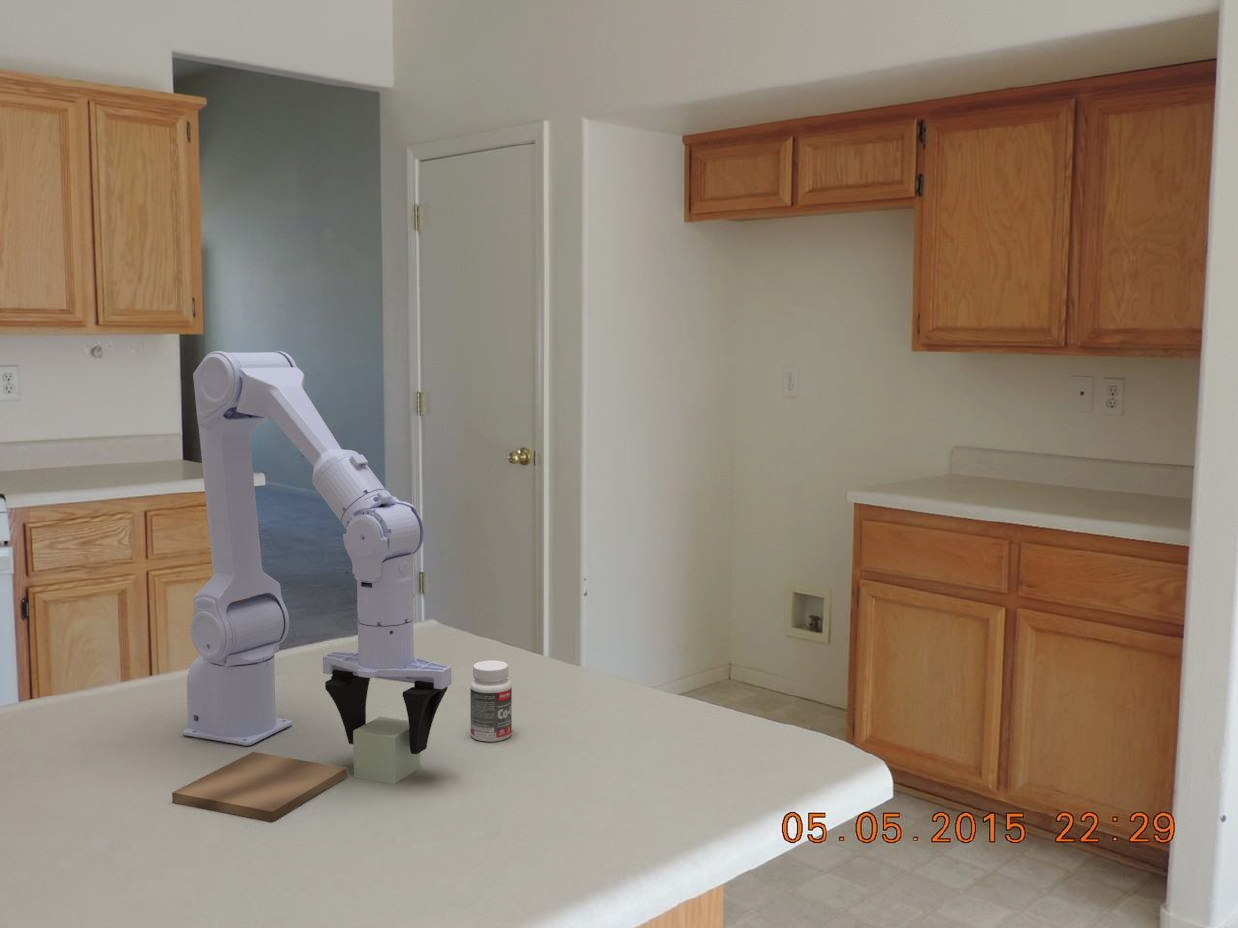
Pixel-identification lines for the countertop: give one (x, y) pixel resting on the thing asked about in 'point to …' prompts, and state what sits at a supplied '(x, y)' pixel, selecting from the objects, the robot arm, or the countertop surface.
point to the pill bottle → (491, 702)
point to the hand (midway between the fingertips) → (387, 745)
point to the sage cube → (383, 750)
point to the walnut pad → (260, 786)
